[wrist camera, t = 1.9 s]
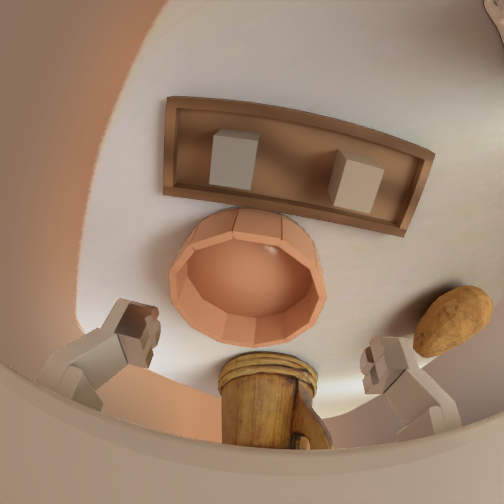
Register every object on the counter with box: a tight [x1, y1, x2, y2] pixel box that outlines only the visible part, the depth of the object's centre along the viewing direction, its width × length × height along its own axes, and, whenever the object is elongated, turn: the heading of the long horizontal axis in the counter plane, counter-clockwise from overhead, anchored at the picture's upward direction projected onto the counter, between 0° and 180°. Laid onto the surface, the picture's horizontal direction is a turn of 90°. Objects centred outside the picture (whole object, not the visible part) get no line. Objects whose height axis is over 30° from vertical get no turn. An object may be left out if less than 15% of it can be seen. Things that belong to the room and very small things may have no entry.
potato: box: [413, 285, 493, 358], centre depth 31 cm, size 10×14×8 cm
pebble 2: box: [327, 149, 384, 214], centre depth 24 cm, size 4×4×4 cm
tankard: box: [218, 352, 334, 450], centre depth 37 cm, size 18×24×25 cm
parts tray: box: [163, 96, 435, 238], centre depth 25 cm, size 10×26×2 cm, turn 82°
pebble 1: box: [209, 128, 260, 190], centre depth 24 cm, size 4×4×4 cm
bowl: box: [169, 207, 327, 348], centre depth 31 cm, size 17×17×6 cm
